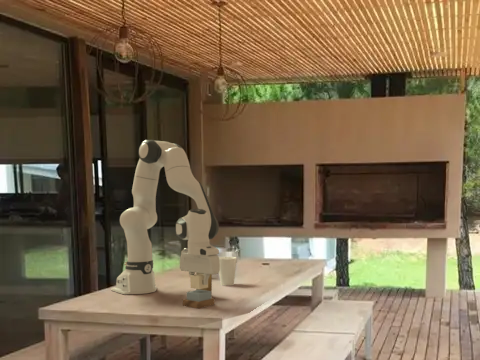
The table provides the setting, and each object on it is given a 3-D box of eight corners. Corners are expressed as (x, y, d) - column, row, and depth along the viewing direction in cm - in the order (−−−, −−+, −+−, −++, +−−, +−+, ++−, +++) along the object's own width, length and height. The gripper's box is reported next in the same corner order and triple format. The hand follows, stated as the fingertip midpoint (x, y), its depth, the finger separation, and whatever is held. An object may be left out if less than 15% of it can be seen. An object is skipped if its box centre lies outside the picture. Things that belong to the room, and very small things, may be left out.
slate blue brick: (186, 299, 225) (186, 292, 225) (199, 296, 231) (199, 289, 231) (198, 301, 221) (198, 294, 221) (211, 298, 226) (211, 291, 226)
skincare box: (197, 298, 240) (197, 269, 240) (195, 296, 244) (195, 268, 244) (212, 297, 242) (212, 268, 242) (210, 295, 246) (209, 267, 246)
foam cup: (215, 283, 276) (215, 257, 276) (233, 282, 278) (233, 256, 278) (220, 287, 266) (220, 259, 267) (239, 285, 269) (238, 258, 269)
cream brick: (190, 287, 226) (190, 275, 226) (199, 286, 230) (199, 273, 230) (199, 289, 223) (198, 276, 223) (208, 287, 226) (207, 275, 226)
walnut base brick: (182, 307, 226) (182, 299, 226) (199, 303, 232) (198, 296, 232) (198, 310, 219) (198, 302, 220) (214, 306, 226) (214, 298, 226)
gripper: (175, 248, 231) (176, 282, 231) (210, 251, 217) (211, 287, 217) (187, 247, 236) (187, 280, 235) (222, 250, 222) (222, 285, 222)
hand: (199, 283), depth 226 cm, fingers closed on cream brick, 5 cm apart
